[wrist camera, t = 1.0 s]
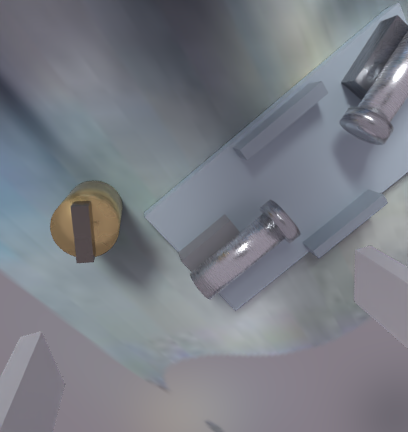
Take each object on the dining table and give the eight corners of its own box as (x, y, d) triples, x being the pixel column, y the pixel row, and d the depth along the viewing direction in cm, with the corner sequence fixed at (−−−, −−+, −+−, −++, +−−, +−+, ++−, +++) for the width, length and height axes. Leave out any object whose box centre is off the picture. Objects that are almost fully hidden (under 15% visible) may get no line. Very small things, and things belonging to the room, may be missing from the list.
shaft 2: (319, 116, 29) (358, 117, 24) (383, 16, 28) (440, -7, 22) (354, 143, 31) (398, 149, 26) (417, 50, 29) (477, 37, 24)
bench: (144, 212, 30) (145, 225, 27) (386, 8, 29) (420, -7, 25) (231, 303, 36) (241, 323, 32) (438, 135, 34) (472, 138, 31)
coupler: (70, 232, 30) (49, 268, 23) (64, 180, 28) (40, 203, 21) (123, 229, 31) (119, 263, 24) (120, 180, 29) (115, 201, 22)
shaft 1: (182, 261, 30) (189, 283, 26) (263, 194, 29) (283, 207, 25) (209, 288, 31) (219, 313, 27) (286, 225, 31) (307, 241, 27)
